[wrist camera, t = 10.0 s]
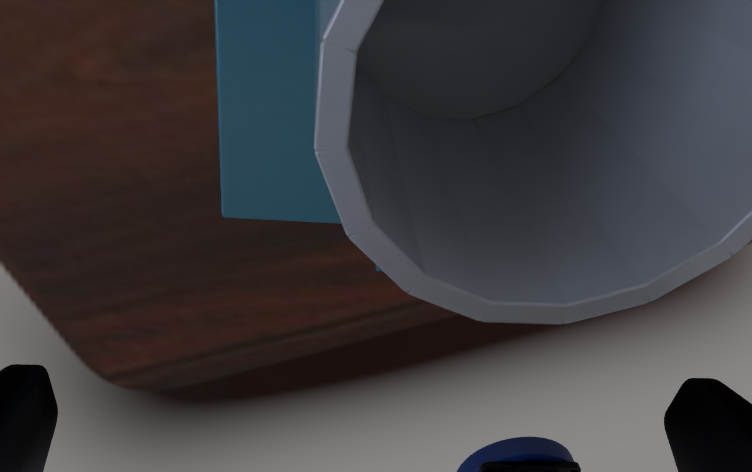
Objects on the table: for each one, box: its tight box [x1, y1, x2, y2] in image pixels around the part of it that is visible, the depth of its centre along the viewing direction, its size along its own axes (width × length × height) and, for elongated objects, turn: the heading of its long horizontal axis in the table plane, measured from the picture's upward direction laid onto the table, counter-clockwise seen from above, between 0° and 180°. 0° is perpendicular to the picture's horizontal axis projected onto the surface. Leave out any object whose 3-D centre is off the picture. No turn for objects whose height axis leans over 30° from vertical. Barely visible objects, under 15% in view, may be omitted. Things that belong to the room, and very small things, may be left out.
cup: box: [314, 0, 752, 324], centre depth 10 cm, size 6×6×7 cm
